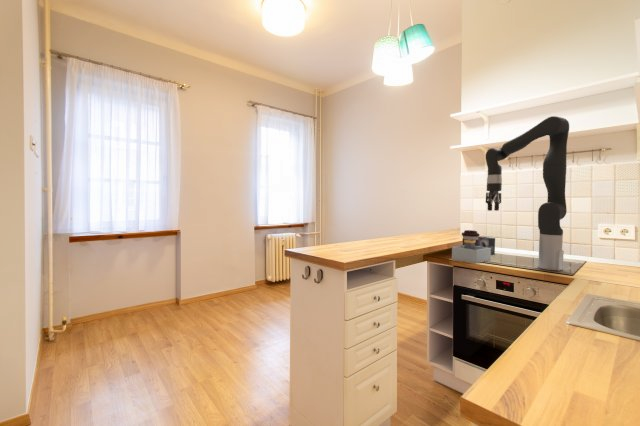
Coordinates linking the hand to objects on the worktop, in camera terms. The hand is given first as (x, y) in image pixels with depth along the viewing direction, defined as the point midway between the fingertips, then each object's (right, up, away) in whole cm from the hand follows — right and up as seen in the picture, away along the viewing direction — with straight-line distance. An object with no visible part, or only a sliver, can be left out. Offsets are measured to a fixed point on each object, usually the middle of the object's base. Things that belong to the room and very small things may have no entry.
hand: (493, 210), depth 177 cm
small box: (+4, -28, +16) cm, 32 cm away
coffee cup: (-8, -28, +12) cm, 31 cm away
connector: (-16, -27, -4) cm, 32 cm away
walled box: (-16, -28, -5) cm, 33 cm away
